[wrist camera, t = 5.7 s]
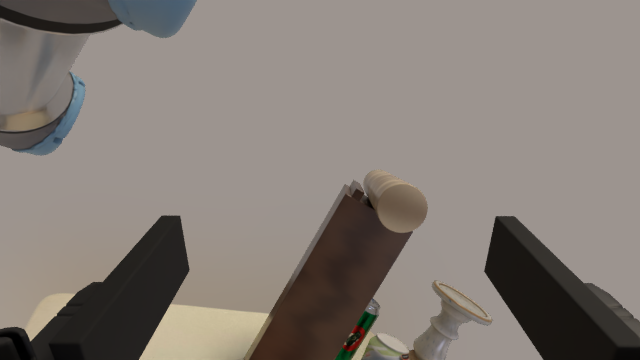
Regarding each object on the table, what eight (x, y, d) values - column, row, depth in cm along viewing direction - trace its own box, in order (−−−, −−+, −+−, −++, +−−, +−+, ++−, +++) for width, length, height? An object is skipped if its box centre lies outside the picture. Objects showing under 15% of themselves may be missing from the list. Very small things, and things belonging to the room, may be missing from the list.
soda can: (351, 369, 61) (387, 311, 60) (333, 371, 58) (370, 309, 56) (334, 347, 65) (367, 292, 64) (315, 347, 61) (350, 289, 60)
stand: (219, 409, 40) (350, 184, 37) (244, 357, 50) (348, 177, 47) (281, 446, 39) (418, 223, 36) (294, 386, 49) (402, 207, 46)
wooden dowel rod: (410, 242, 29) (437, 199, 28) (367, 217, 29) (393, 174, 28) (383, 204, 48) (398, 178, 48) (357, 189, 49) (372, 164, 48)
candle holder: (403, 434, 52) (477, 321, 50) (355, 367, 62) (416, 271, 60) (445, 426, 60) (511, 328, 58) (396, 368, 70) (451, 282, 68)
